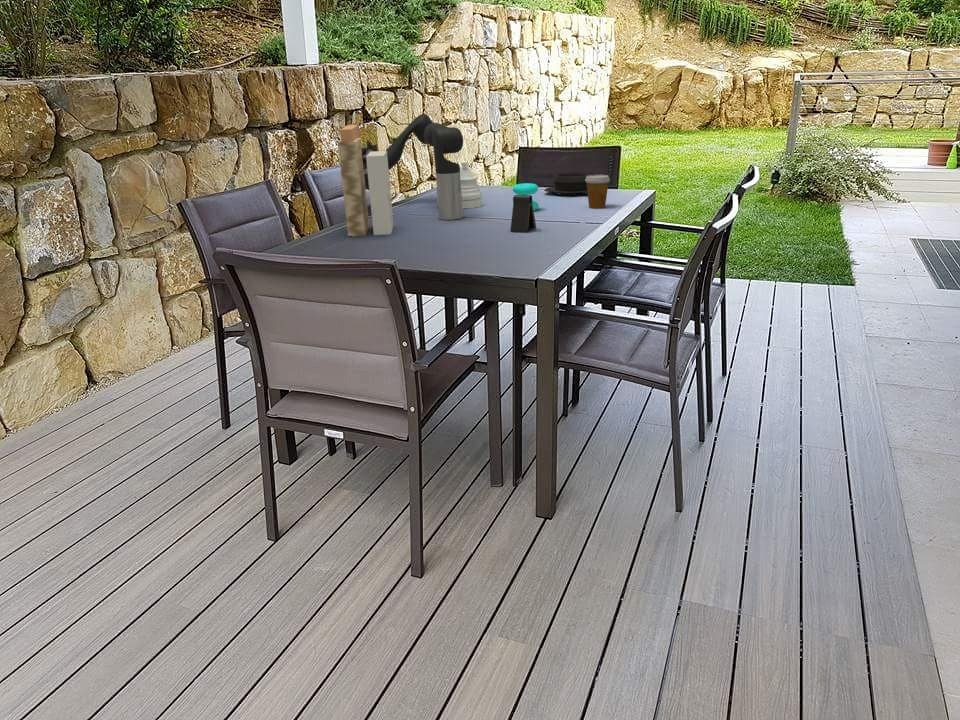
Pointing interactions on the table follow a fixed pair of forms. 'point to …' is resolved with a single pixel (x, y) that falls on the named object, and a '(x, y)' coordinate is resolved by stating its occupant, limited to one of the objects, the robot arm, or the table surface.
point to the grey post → (380, 192)
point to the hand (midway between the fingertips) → (356, 143)
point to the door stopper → (522, 214)
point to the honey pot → (469, 188)
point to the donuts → (527, 191)
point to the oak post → (354, 187)
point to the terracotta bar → (349, 133)
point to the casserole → (569, 184)
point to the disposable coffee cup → (597, 190)
